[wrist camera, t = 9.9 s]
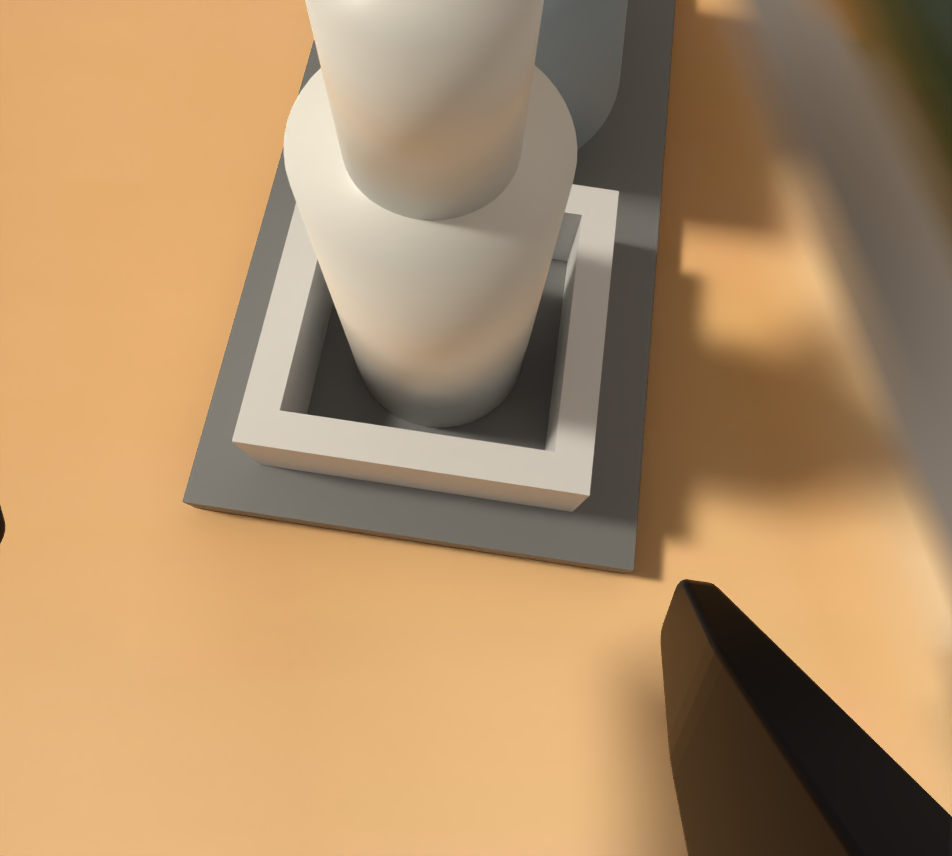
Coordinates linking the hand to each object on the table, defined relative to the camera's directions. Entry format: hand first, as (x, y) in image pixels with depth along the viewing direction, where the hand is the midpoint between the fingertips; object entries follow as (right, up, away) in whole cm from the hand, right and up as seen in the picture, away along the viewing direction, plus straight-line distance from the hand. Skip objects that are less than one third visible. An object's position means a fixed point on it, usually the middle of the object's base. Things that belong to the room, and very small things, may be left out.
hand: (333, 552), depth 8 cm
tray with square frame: (+2, +10, +14) cm, 17 cm away
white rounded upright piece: (+1, +4, +12) cm, 12 cm away
